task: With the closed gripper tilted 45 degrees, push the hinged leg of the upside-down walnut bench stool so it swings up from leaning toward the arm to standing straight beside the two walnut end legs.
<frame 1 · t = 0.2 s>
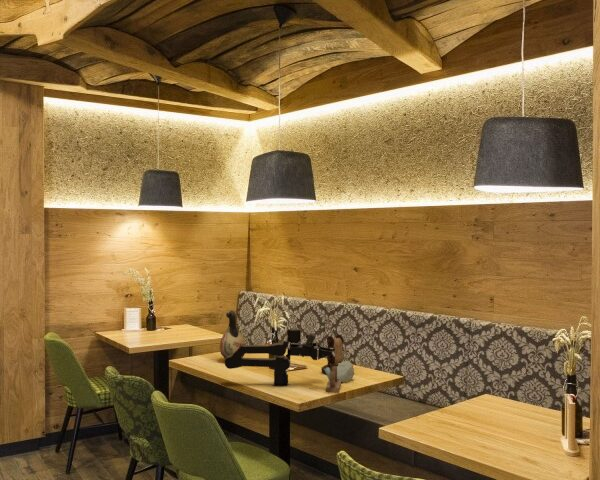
hand: (331, 351, 300), 16 cm above the table, tool horizontal, fingers open, 9 cm apart
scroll: (335, 373, 326), on the table
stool: (332, 389, 292), on the table
hinged leg: (329, 375, 292), point 7 cm above the table, hinge at -25.0°
ceramic jug: (233, 361, 355), on the table
decorative stone: (342, 381, 308), on the table
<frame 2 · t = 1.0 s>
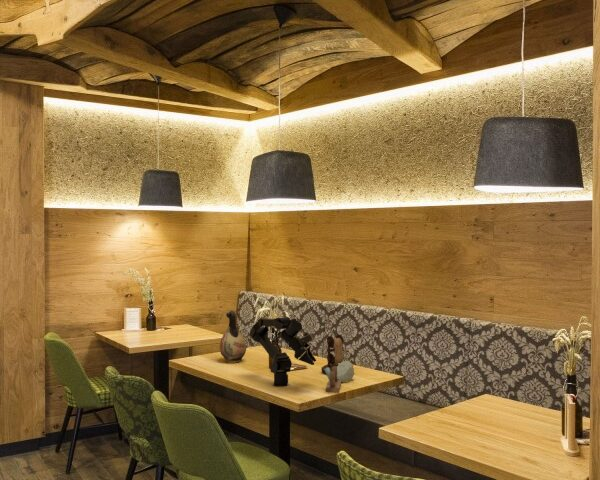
hand: (314, 362, 293), 12 cm above the table, tool tilted 45°, fingers open, 9 cm apart
nothing on the table moved.
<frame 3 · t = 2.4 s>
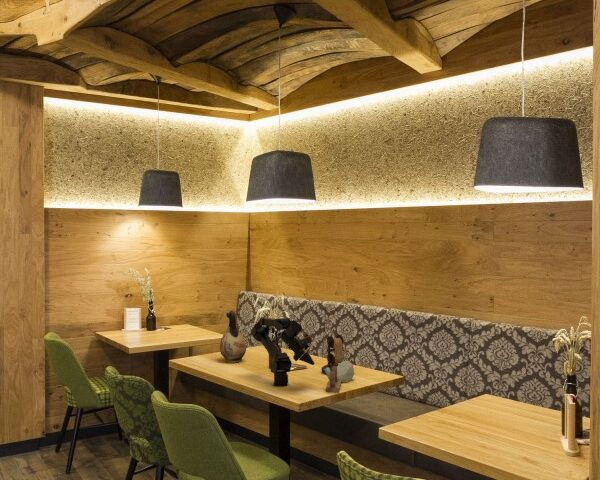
hand: (314, 364, 293), 11 cm above the table, tool tilted 45°, fingers closed
nothing on the table moved.
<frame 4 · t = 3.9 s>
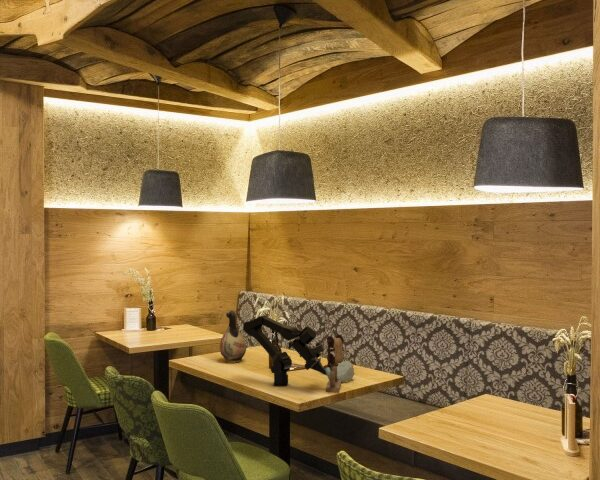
hand: (325, 373, 292), 7 cm above the table, tool tilted 45°, fingers closed, pressing on hinged leg
hinged leg: (329, 374, 292), point 7 cm above the table, hinge at -23.9°, touching gripper
everything else where it was.
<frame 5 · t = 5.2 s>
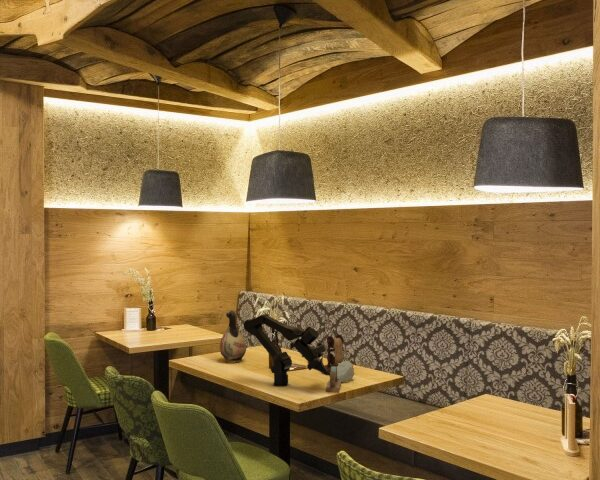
hand: (327, 373, 292), 7 cm above the table, tool tilted 45°, fingers closed
hinged leg: (333, 374, 291), point 7 cm above the table, hinge at 4.1°
everything else where it was.
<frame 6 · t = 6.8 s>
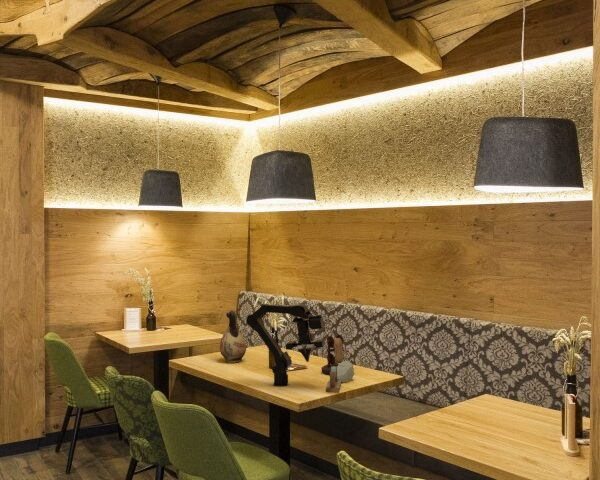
hand: (307, 361, 298), 12 cm above the table, tool pointing down, fingers closed
nothing on the table moved.
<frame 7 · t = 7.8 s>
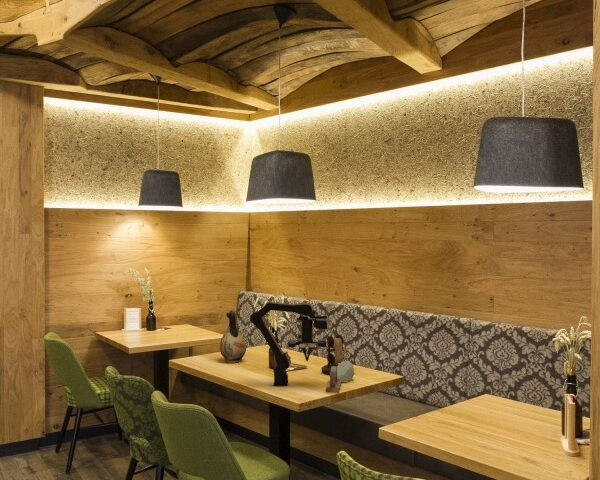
hand: (307, 360, 299), 12 cm above the table, tool pointing down, fingers closed
nothing on the table moved.
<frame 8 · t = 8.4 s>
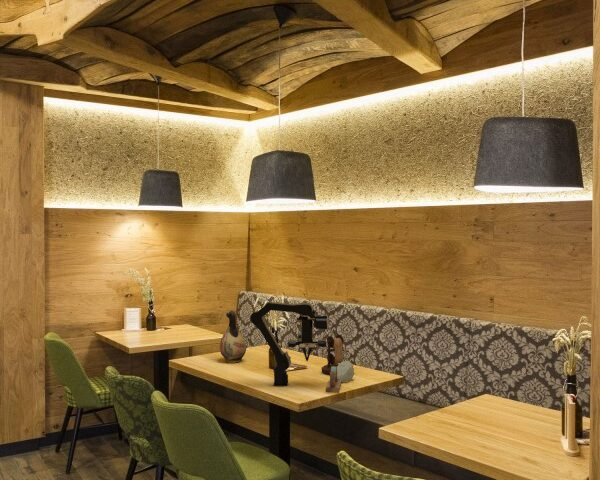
hand: (307, 360, 299), 12 cm above the table, tool pointing down, fingers closed
nothing on the table moved.
at the end: hinged leg at +4° (first picture: -25°); hinged leg touching nothing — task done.
